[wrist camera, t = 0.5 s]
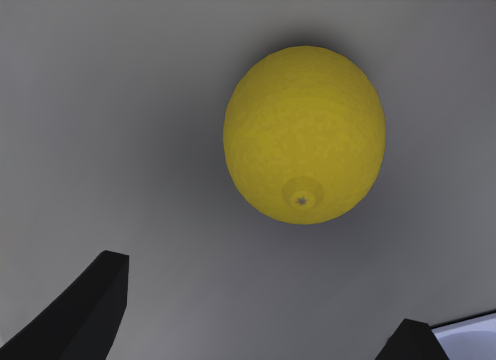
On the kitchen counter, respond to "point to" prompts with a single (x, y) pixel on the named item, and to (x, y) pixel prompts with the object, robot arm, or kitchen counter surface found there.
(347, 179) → the lemon
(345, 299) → the kitchen counter surface
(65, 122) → the kitchen counter surface
